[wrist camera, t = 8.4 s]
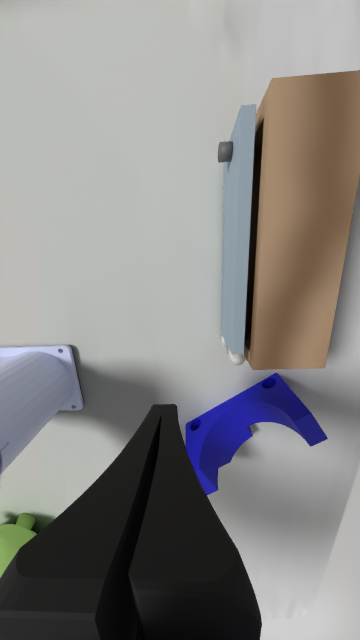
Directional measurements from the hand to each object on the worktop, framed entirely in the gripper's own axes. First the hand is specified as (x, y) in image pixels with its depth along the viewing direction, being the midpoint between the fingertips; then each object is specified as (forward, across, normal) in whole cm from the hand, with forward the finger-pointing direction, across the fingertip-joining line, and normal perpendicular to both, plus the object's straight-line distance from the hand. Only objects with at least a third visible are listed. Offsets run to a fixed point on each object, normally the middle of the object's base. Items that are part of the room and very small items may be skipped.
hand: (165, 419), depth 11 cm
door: (+9, -5, -9) cm, 13 cm away
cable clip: (+10, -7, +8) cm, 15 cm away
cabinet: (+9, -8, -9) cm, 16 cm away
